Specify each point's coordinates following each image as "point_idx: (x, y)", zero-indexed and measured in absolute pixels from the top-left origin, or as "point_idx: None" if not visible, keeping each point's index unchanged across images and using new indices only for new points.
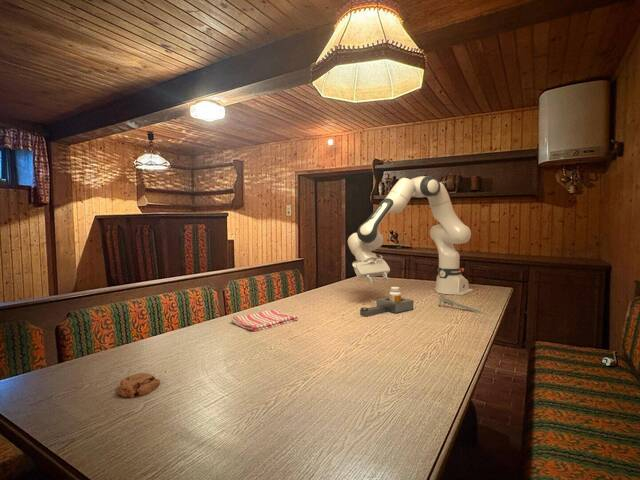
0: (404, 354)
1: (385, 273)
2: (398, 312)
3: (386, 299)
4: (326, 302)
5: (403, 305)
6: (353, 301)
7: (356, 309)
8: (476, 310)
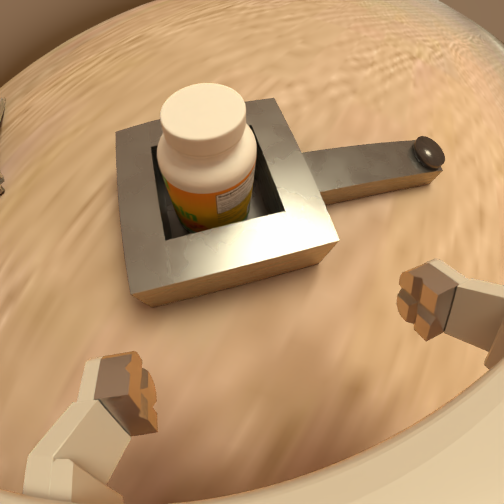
0: (364, 4)
1: (49, 469)
2: None
3: (259, 219)
4: None
5: None
6: None
7: None
8: (2, 103)
